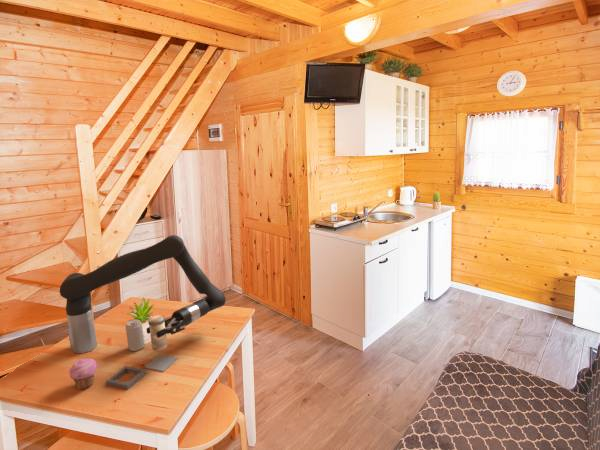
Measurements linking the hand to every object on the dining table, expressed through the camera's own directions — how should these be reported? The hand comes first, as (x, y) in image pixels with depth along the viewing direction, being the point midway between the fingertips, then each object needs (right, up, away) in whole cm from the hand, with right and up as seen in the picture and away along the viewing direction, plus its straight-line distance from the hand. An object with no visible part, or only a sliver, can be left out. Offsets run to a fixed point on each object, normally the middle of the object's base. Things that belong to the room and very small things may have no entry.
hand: (152, 333), depth 142 cm
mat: (+2, -14, +5) cm, 15 cm away
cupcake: (-21, -17, -7) cm, 28 cm away
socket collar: (-8, -16, -4) cm, 18 cm away
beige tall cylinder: (+2, -6, +4) cm, 7 cm away
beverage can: (-14, -11, +17) cm, 25 cm away
